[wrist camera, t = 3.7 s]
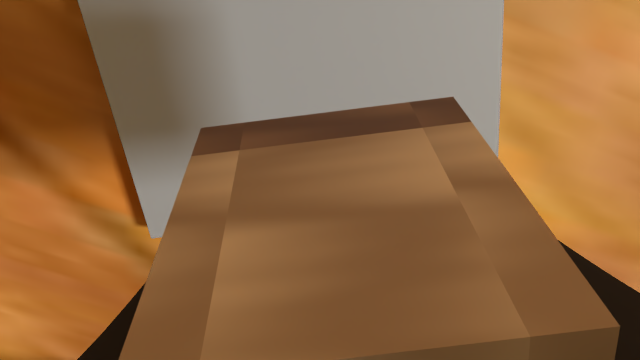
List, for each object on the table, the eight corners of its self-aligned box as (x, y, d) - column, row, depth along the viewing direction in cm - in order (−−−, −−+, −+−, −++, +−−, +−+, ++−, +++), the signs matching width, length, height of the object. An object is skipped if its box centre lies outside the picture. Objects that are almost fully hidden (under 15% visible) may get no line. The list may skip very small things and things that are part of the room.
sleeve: (245, 320, 13) (212, 642, 7) (201, 127, 10) (108, 386, 5) (454, 295, 13) (573, 602, 7) (453, 96, 10) (620, 326, 5)
